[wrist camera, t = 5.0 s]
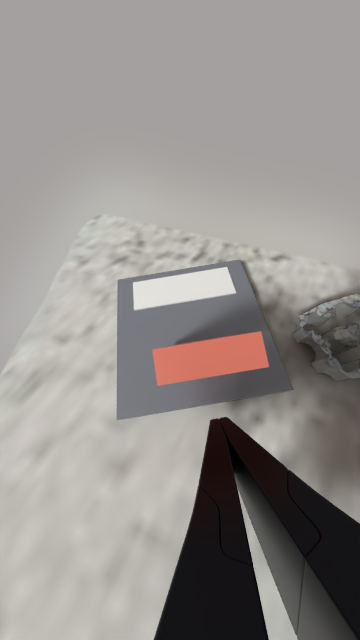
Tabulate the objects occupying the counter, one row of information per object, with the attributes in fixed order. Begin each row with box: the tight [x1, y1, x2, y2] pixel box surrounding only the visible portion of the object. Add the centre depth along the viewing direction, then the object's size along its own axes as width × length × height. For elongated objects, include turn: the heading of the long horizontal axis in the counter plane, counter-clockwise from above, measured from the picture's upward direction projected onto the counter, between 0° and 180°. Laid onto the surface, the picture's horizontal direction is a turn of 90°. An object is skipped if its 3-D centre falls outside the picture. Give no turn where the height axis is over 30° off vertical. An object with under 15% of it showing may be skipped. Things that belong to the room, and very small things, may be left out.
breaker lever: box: [152, 331, 269, 386], centre depth 13 cm, size 2×6×10 cm, turn 98°
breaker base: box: [117, 260, 294, 420], centre depth 20 cm, size 16×16×2 cm
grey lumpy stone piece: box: [293, 293, 360, 381], centre depth 18 cm, size 11×8×4 cm
